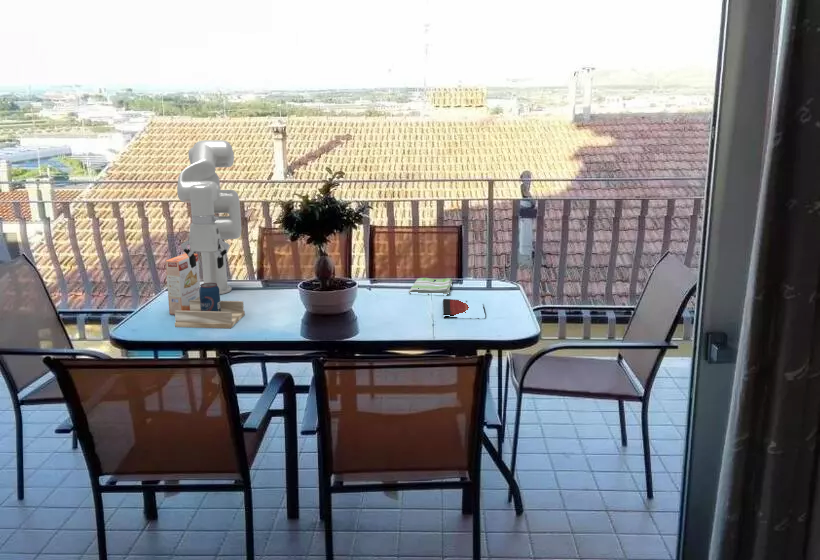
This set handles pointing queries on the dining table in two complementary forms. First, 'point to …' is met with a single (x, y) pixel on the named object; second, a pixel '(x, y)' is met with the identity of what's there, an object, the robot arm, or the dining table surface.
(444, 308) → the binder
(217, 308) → the soda can
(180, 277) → the cracker box
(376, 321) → the dining table surface
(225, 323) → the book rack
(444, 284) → the dish towel
